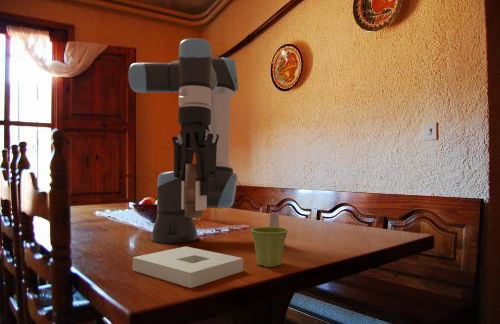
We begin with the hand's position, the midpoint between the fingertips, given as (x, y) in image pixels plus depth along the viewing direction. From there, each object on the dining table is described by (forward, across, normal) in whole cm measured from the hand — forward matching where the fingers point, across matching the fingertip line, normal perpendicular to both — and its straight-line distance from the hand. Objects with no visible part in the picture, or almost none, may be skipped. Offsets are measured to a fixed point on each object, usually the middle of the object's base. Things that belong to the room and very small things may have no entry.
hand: (193, 209), depth 83 cm
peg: (+2, 0, 0) cm, 2 cm away
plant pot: (+15, +9, +17) cm, 24 cm away
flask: (+14, -3, +36) cm, 39 cm away
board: (+14, -2, 0) cm, 15 cm away
